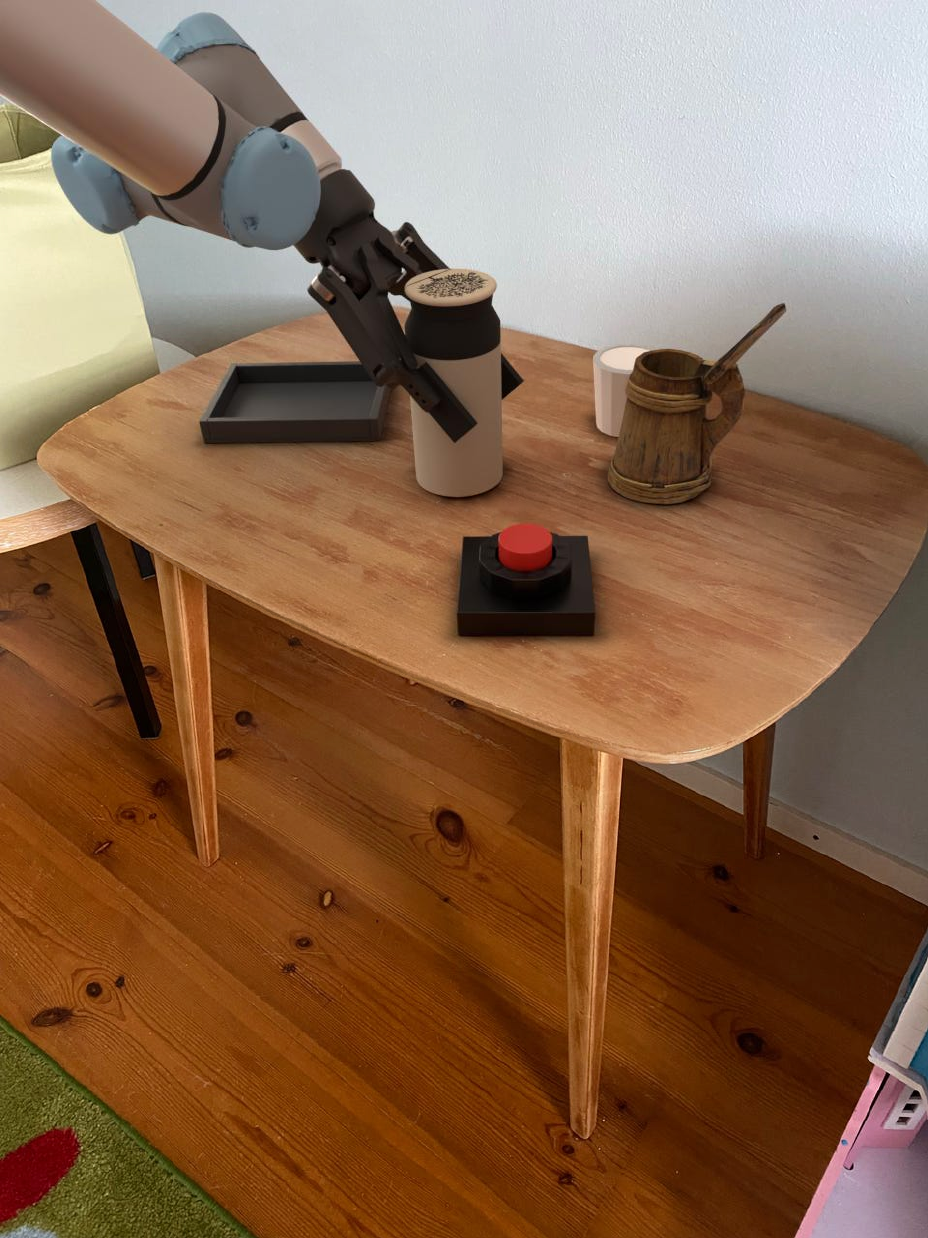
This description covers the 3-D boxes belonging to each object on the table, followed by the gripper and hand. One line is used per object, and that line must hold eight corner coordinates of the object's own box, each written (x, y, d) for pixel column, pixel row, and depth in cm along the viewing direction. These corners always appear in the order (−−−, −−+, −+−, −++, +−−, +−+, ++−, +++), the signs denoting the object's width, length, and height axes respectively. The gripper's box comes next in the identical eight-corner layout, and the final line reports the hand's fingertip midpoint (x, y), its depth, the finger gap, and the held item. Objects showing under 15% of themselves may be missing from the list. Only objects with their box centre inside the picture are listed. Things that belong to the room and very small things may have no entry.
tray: (203, 443, 98) (198, 421, 96) (234, 383, 109) (230, 363, 107) (379, 441, 97) (377, 418, 95) (393, 381, 108) (391, 360, 106)
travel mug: (520, 479, 90) (519, 284, 79) (450, 510, 86) (440, 309, 75) (467, 447, 95) (459, 259, 84) (399, 475, 92) (382, 282, 80)
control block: (458, 636, 73) (455, 593, 70) (463, 558, 81) (461, 517, 78) (593, 636, 72) (596, 592, 70) (586, 557, 80) (588, 516, 78)
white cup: (610, 402, 101) (614, 337, 97) (671, 418, 98) (678, 351, 94) (577, 429, 97) (579, 362, 93) (639, 447, 94) (645, 378, 90)
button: (498, 572, 73) (498, 553, 72) (499, 542, 76) (498, 523, 75) (552, 572, 72) (553, 552, 71) (551, 541, 76) (551, 522, 75)
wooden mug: (730, 532, 82) (763, 323, 71) (589, 486, 89) (599, 288, 77) (773, 486, 88) (809, 285, 76) (637, 446, 94) (653, 255, 83)
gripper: (358, 193, 91) (516, 385, 95) (211, 266, 77) (403, 488, 81) (403, 135, 86) (568, 341, 89) (254, 201, 71) (457, 443, 75)
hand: (490, 411), depth 85 cm, fingers open, 8 cm apart
